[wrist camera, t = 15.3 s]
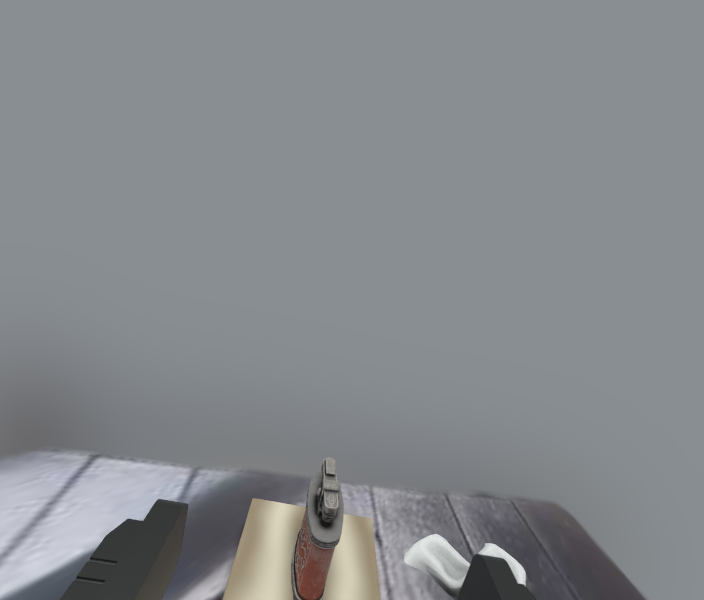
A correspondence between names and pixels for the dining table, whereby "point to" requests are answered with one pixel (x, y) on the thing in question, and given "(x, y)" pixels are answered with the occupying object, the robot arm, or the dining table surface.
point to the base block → (277, 549)
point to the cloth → (452, 562)
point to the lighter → (317, 534)
